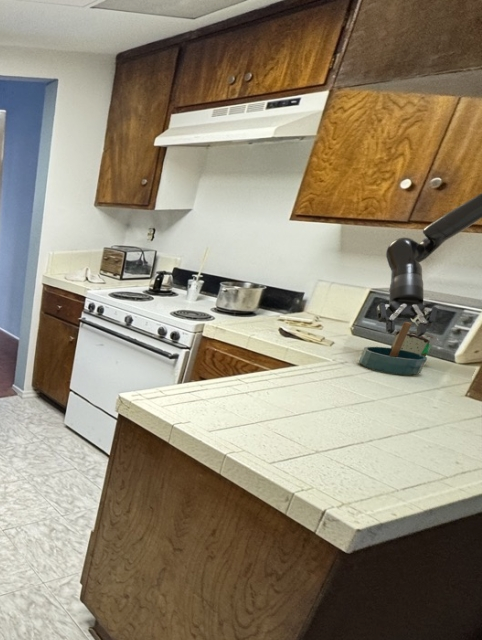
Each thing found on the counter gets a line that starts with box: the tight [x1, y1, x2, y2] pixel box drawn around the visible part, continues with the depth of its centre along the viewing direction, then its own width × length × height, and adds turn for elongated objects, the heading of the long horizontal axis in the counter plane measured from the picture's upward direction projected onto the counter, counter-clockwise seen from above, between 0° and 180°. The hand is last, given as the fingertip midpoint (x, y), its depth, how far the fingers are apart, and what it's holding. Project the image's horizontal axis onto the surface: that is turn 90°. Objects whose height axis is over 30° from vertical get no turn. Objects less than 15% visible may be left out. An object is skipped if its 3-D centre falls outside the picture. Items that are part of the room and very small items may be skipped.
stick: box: [389, 321, 413, 357], centre depth 151 cm, size 4×4×15 cm
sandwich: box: [390, 328, 438, 357], centre depth 160 cm, size 12×6×10 cm, turn 179°
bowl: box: [358, 346, 428, 376], centre depth 153 cm, size 15×15×6 cm
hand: (405, 333), depth 148 cm, fingers open, 6 cm apart
